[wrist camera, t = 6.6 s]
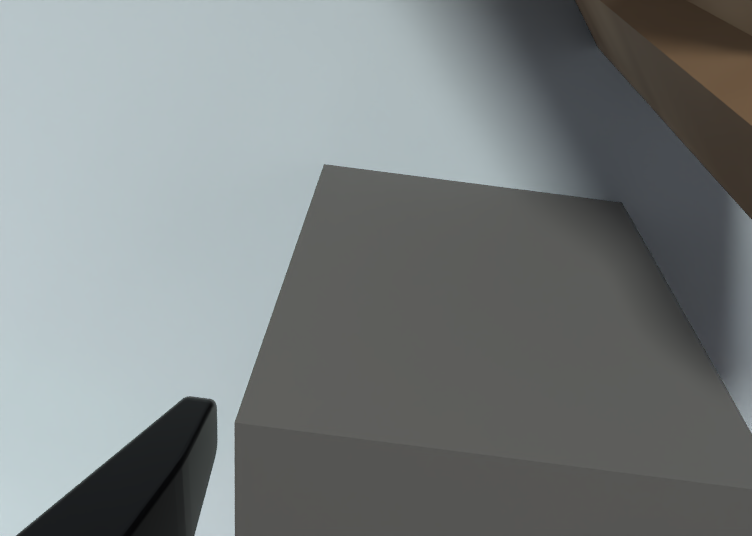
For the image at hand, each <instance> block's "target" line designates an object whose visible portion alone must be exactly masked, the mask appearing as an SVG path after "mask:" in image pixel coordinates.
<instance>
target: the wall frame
mask: <svg viewBox="0 0 752 536" xmlns="http://www.w3.org/2000/svg"><path fill="white" fill-rule="evenodd" d="M575 2H576V4H577V6H578V8H579V10H580V12H581V14H582V16H583V18H584V20H585V22H586V24H587V26H588V28H589V30H590V32H591V34H592V36H593V38H594V40H595V42H596V44H597V46H598V48H599V49H600V51H601V52H602V53H603V54H604V55H605V56H606V57H607V58H608V60H609V61H610V62H611V63H612V64H613V65H614V66H615V67H616V68H617V70H618V71H619V72H620V73H621V74H622V75H623V76H624V77H625V78H626V80H627V81H628V82H629V83H630V84H631V85H632V86H633V87H634V89H635V90H636V91H637V92H638V93H639V94H640V95H641V96H642V97H643V99H644V100H645V101H646V102H647V103H648V104H649V105H650V106H651V108H652V109H653V110H654V111H655V112H656V113H657V114H658V115H659V116H660V118H661V119H662V120H663V121H664V122H665V123H666V124H667V125H668V127H669V128H670V129H671V130H672V131H673V132H674V133H675V134H676V135H677V137H678V138H679V139H680V140H681V141H682V142H683V143H684V144H685V146H686V147H687V148H688V149H689V150H690V151H691V152H692V153H693V154H694V156H695V157H696V158H697V159H698V160H699V161H700V162H701V163H702V164H703V166H704V167H705V168H706V169H707V170H708V171H709V172H710V173H711V175H712V176H713V177H714V178H715V179H716V180H717V181H718V182H719V183H720V185H721V186H722V187H723V188H724V189H725V190H726V191H727V192H728V194H729V195H730V196H731V197H732V198H733V199H734V200H735V201H736V202H737V204H738V205H739V206H740V207H741V208H742V209H743V210H744V211H745V213H746V214H747V215H748V216H749V217H750V218H751V219H752V0H575Z"/></svg>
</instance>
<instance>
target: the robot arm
mask: <svg viewBox="0 0 752 536" xmlns="http://www.w3.org/2000/svg"><path fill="white" fill-rule="evenodd" d="M216 450H217V406H216V403H215V401H214V400H212V399H207V398H199V397H192V396H189V397H186V398H183V399H182V400H181V401H180V402H178V403H177V404H176V405H175V406H174V407H172V408H171V409H170V410H169V411H167V412H166V413H165V414H164V415H163V416H161V417H160V418H159V419H158V420H156V421H155V422H154V423H153V424H152V425H150V426H149V427H148V428H147V429H145V430H144V431H143V432H142V433H141V434H139V435H138V436H137V437H136V438H135V439H133V440H132V441H131V442H130V443H128V444H127V445H126V446H125V447H124V448H122V449H121V450H120V451H119V452H117V453H116V454H115V455H114V456H113V457H111V458H110V459H109V460H108V461H106V462H105V463H104V464H103V465H102V466H100V467H99V468H98V469H97V470H96V471H94V472H93V473H92V474H91V475H89V476H88V477H87V478H86V479H85V480H83V481H82V482H81V483H80V484H78V485H77V486H76V487H75V488H74V489H72V490H71V491H70V492H69V493H67V494H66V495H65V496H64V497H63V498H61V499H60V500H59V501H58V502H57V503H55V504H54V505H53V506H52V507H50V508H49V509H48V510H47V511H46V512H44V513H43V514H42V515H41V516H39V517H38V518H37V519H36V520H35V521H33V522H32V523H31V524H30V525H28V526H27V527H26V528H25V529H24V530H22V531H21V532H20V533H19V534H18V535H16V536H194V535H195V531H196V527H197V523H198V520H199V516H200V512H201V508H202V505H203V501H204V497H205V493H206V490H207V486H208V482H209V478H210V475H211V471H212V467H213V463H214V460H215V455H216Z"/></svg>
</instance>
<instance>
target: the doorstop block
mask: <svg viewBox="0 0 752 536" xmlns="http://www.w3.org/2000/svg"><path fill="white" fill-rule="evenodd" d="M235 536H752V434H751V432H750V430H749V428H748V427H747V425H746V423H745V421H744V419H743V418H742V416H741V414H740V412H739V411H738V409H737V407H736V405H735V403H734V402H733V400H732V398H731V396H730V395H729V393H728V391H727V389H726V387H725V386H724V384H723V382H722V380H721V378H720V377H719V375H718V373H717V371H716V370H715V368H714V366H713V364H712V362H711V361H710V359H709V357H708V355H707V354H706V352H705V350H704V348H703V346H702V345H701V343H700V341H699V339H698V338H697V336H696V334H695V332H694V330H693V329H692V327H691V325H690V323H689V322H688V320H687V318H686V316H685V314H684V313H683V311H682V309H681V307H680V306H679V304H678V302H677V300H676V298H675V297H674V295H673V293H672V291H671V289H670V288H669V286H668V284H667V282H666V281H665V279H664V277H663V275H662V273H661V272H660V270H659V268H658V266H657V265H656V263H655V261H654V259H653V257H652V256H651V254H650V252H649V250H648V249H647V247H646V245H645V243H644V241H643V240H642V238H641V236H640V234H639V233H638V231H637V229H636V227H635V225H634V224H633V222H632V220H631V218H630V217H629V215H628V213H627V211H626V209H625V208H624V206H623V204H622V203H620V202H613V201H605V200H597V199H589V198H581V197H574V196H566V195H558V194H550V193H543V192H535V191H527V190H519V189H511V188H504V187H496V186H488V185H480V184H473V183H465V182H457V181H449V180H442V179H434V178H426V177H418V176H410V175H403V174H395V173H387V172H379V171H372V170H364V169H356V168H348V167H340V166H333V165H325V164H324V166H323V169H322V172H321V175H320V178H319V181H318V183H317V186H316V189H315V192H314V195H313V198H312V201H311V204H310V207H309V209H308V212H307V215H306V218H305V221H304V224H303V227H302V230H301V233H300V235H299V238H298V241H297V244H296V247H295V250H294V253H293V256H292V259H291V261H290V264H289V267H288V270H287V273H286V276H285V279H284V282H283V285H282V287H281V290H280V293H279V296H278V299H277V302H276V305H275V308H274V310H273V313H272V316H271V319H270V322H269V325H268V328H267V331H266V334H265V336H264V339H263V342H262V345H261V348H260V351H259V354H258V357H257V360H256V362H255V365H254V368H253V371H252V374H251V377H250V380H249V383H248V386H247V388H246V391H245V394H244V397H243V400H242V403H241V406H240V409H239V412H238V414H237V417H236V420H235Z"/></svg>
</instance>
